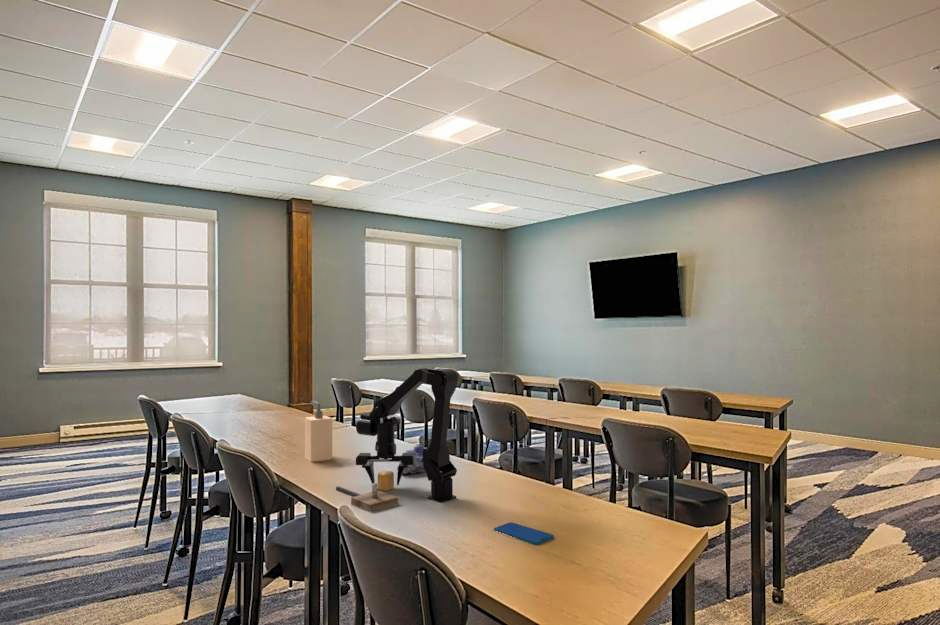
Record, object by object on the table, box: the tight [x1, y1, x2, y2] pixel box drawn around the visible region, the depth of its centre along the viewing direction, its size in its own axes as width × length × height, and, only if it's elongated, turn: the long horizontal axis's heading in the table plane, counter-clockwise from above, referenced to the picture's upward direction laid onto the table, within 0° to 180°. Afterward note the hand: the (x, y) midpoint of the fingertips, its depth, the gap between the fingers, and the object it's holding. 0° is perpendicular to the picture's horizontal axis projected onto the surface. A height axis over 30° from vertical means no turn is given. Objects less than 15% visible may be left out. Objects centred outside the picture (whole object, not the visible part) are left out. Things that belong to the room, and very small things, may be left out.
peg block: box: [350, 482, 399, 512], centre depth 173 cm, size 10×10×6 cm
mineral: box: [396, 444, 426, 474], centre depth 210 cm, size 14×10×10 cm
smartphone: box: [493, 522, 554, 546], centre depth 148 cm, size 7×1×15 cm
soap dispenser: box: [304, 400, 333, 463], centre depth 233 cm, size 13×9×22 cm
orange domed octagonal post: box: [377, 470, 395, 491], centre depth 189 cm, size 5×5×5 cm
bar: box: [335, 485, 362, 497], centre depth 182 cm, size 16×1×1 cm, turn 44°
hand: (385, 485), depth 189 cm, fingers open, 8 cm apart
